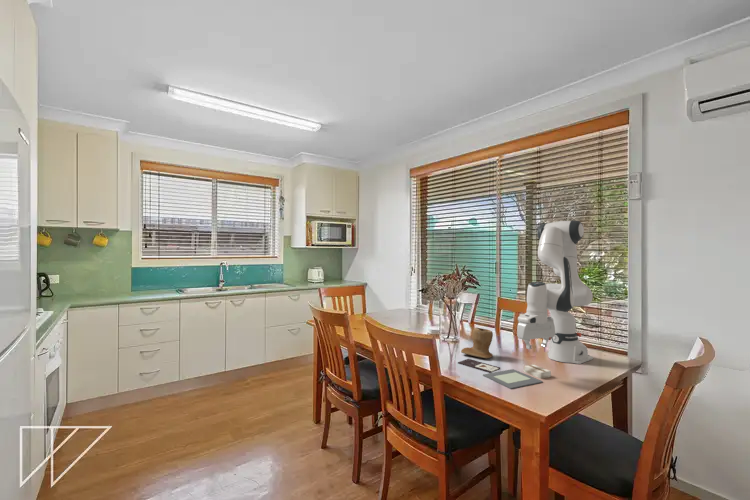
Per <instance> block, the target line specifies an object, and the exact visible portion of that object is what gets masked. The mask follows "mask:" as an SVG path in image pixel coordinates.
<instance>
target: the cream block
mask: <svg viewBox="0 0 750 500" xmlns="http://www.w3.org/2000/svg"><path fill="white" fill-rule="evenodd" d="M523 372H524V373H525V374H527V375H530V376H532V377H534V378H537V379H539V380H541V379H547V378H551V377H552V370H549V369H546V368H544V367H541V366H538V365H536V364H534V363H533V364H526V365H523Z"/></svg>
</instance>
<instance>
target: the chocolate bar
mask: <svg viewBox="0 0 750 500" xmlns="http://www.w3.org/2000/svg"><path fill="white" fill-rule="evenodd" d="M457 364H459V365H462V366H465V367H468V368H471V369H475V370H478V371H482V372H484V373H485V372H486V373H487V374H488V373H494V372H497V371H498V370H500V369H501V367H500V366H496V365H492V364H489V363H485V362H482V361H478V360H474V359H471V358H467V359H464V360H460V361H458V362H457Z"/></svg>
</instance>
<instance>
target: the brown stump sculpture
mask: <svg viewBox="0 0 750 500" xmlns="http://www.w3.org/2000/svg"><path fill="white" fill-rule="evenodd" d="M493 333H494V332H493V331H492V330H490V329H487V328H482V327H481V328H480V327H474V328H473V329H472V335H471V337H472V344H473V345H472V347H463V348H462V349H461V353H462V354H464V355H468V356H472V357H477V358H480V359H491V358H493V356H494V354H493V353H491V352H490V350H489V349H490V346H491V344H492V341H493V338H494V337H493V335H494V334H493Z"/></svg>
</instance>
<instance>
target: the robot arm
mask: <svg viewBox="0 0 750 500" xmlns="http://www.w3.org/2000/svg"><path fill="white" fill-rule="evenodd" d="M536 231H537V232H536V234H537V238H538V240H539V242H538V247H537V258H538V259H539V261H540V262H541V263H542V264H544V265H545V266H547V267H550V268H552V271H553V273H554V275H556V276H557V277H559V278H560V283H553V282H551V283H545V282H543V281H532V282H529V283H528V285H527V289H526V303H527V307H526V312H525V313H523V314H522V315H519V316H518V317H517V322H518V323H517V327H516V328H517V330H516V335H517V337H518V339H520V340H523V341H524V344H525V348H526V350H531V349H532V344H530V342H531V340H535V339H536V340H537V339H543V340H542V342H541V343H540V344H541V346H540V347H541V348H547V345H548V342H549V349H548V351H547V356H548V358H549V359H550V360H552V361H557V362H561V363H567V364H568V363H569V364H571V363H572V364H577V365H580V364H583V363H586V362H588V361H592V360H593V359H594V356H592V355H590V354H588V353H589V352H588V350H589V349H588V347H587V346H586V345H585V344H584V343H583V342H582V341H580V340H579V338H581V337H582V333H581V332H577V331H576V325H577V323H576V320H577V319H576V317H575V316H574V315H573V314H572V313H570V312H569V311H571V310H572V309H573V308H574V307H585V306H589V305H590V304H591V303H592V301H593V291H592V290H591V288H590V287H589V286H587V285H586V284H585V283H584V282H583V281H582V280H581V279H580V277H579V274H578V250H577V244H578V243H579V242H580V241H581V240H582V239H583V237H584V233H585V228H584V224H583V223H582V222H581V221H580V220H574V219H573V220H559V221H553V222H545V223H542V224H540V225H539V226H538V228H537V230H536ZM548 311H549V313H550V316H548ZM549 339H550V340H549Z"/></svg>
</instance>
